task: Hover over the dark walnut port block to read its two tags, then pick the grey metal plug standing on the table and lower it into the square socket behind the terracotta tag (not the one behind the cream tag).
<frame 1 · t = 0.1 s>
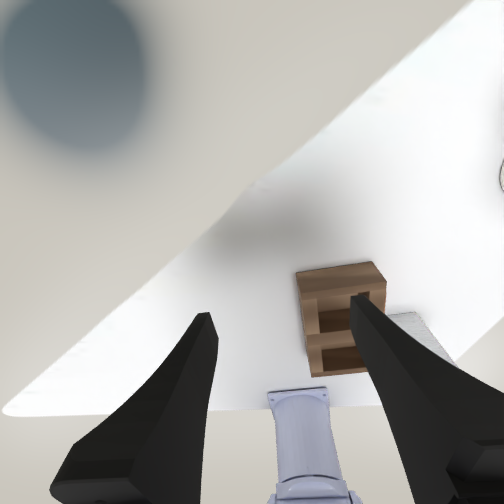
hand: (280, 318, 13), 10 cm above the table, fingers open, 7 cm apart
plug: (396, 325, 27), on the table
port block: (335, 313, 26), on the table
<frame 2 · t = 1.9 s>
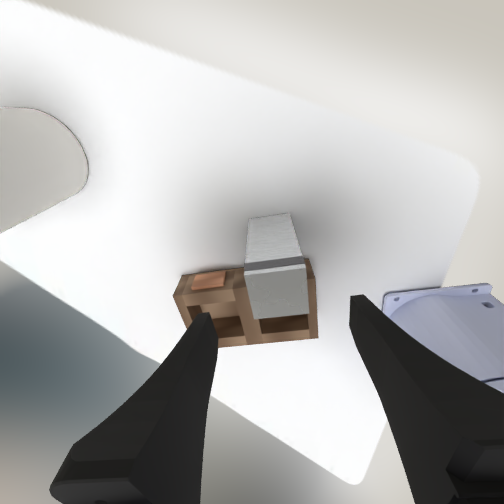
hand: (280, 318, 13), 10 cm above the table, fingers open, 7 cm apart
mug: (40, 172, 19), on the table
plug: (271, 234, 21), on the table
port block: (250, 296, 25), on the table
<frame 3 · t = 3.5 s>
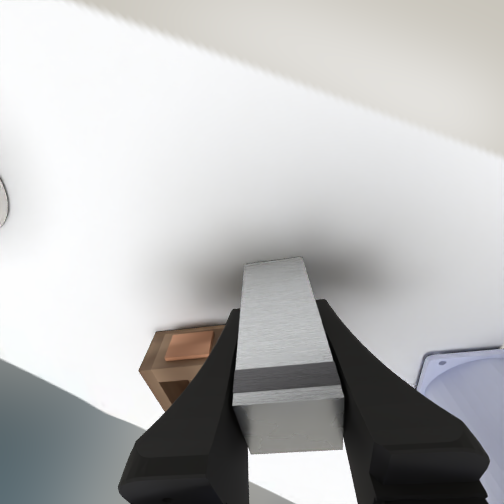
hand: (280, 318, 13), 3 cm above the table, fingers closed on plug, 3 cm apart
plug: (276, 283, 15), on the table, touching gripper
port block: (247, 355, 19), on the table
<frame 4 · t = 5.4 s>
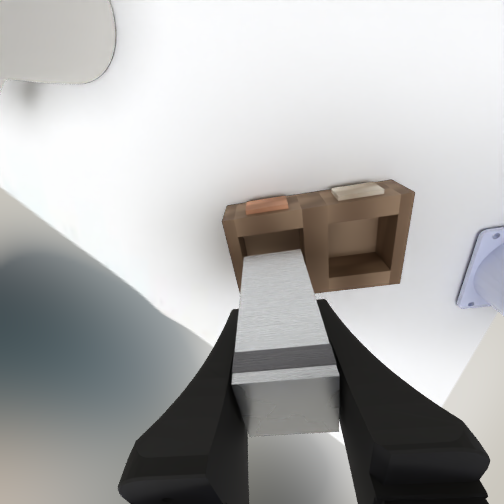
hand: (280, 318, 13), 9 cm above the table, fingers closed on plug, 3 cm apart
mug: (51, 45, 14), on the table
plug: (275, 276, 16), point 5 cm above the table, touching gripper
port block: (309, 235, 20), on the table
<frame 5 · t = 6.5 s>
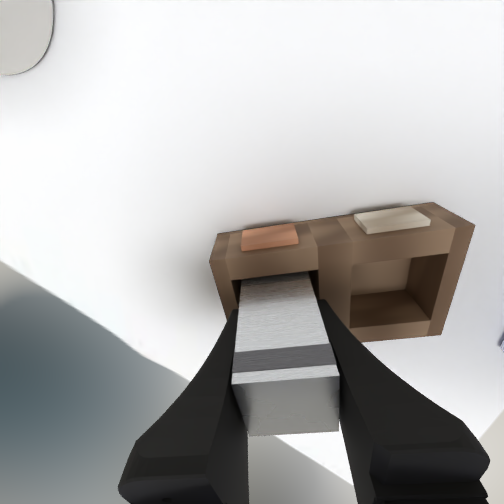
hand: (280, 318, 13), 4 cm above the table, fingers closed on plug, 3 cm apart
plug: (275, 275, 16), resting on port block, touching gripper
port block: (322, 269, 16), on the table
when the fingers open (4 cm above the table, at t = 7.1 s): plug stays where it is, resting on port block.
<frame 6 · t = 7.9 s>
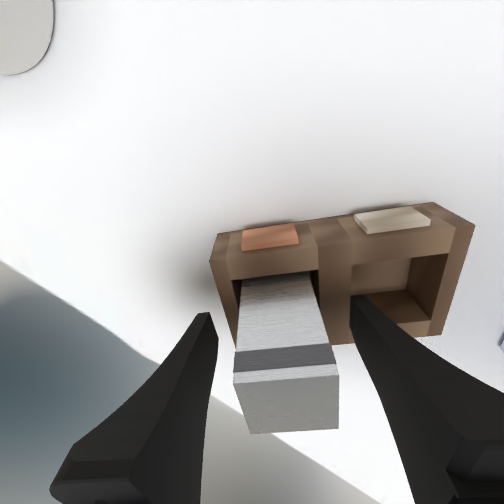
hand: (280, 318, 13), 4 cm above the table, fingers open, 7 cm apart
plug: (275, 275, 16), resting on port block
port block: (322, 269, 16), on the table
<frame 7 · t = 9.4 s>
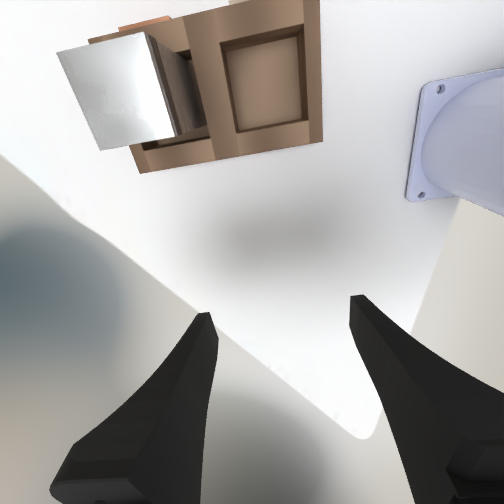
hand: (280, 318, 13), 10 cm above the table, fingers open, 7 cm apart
plug: (176, 101, 17), resting on port block
port block: (221, 96, 17), on the table
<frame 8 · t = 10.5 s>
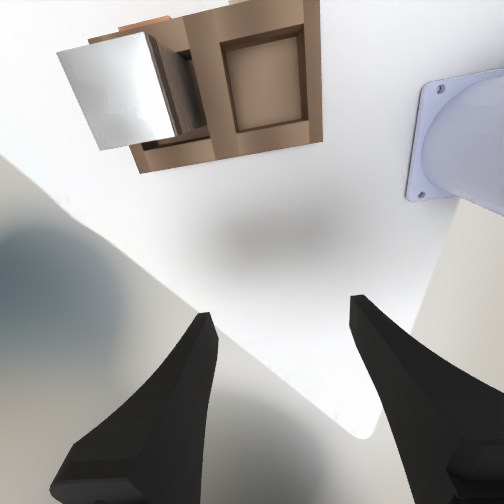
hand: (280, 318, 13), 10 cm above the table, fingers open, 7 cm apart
plug: (176, 101, 17), resting on port block
port block: (221, 96, 17), on the table
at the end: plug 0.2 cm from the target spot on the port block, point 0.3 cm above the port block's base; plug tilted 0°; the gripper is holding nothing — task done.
